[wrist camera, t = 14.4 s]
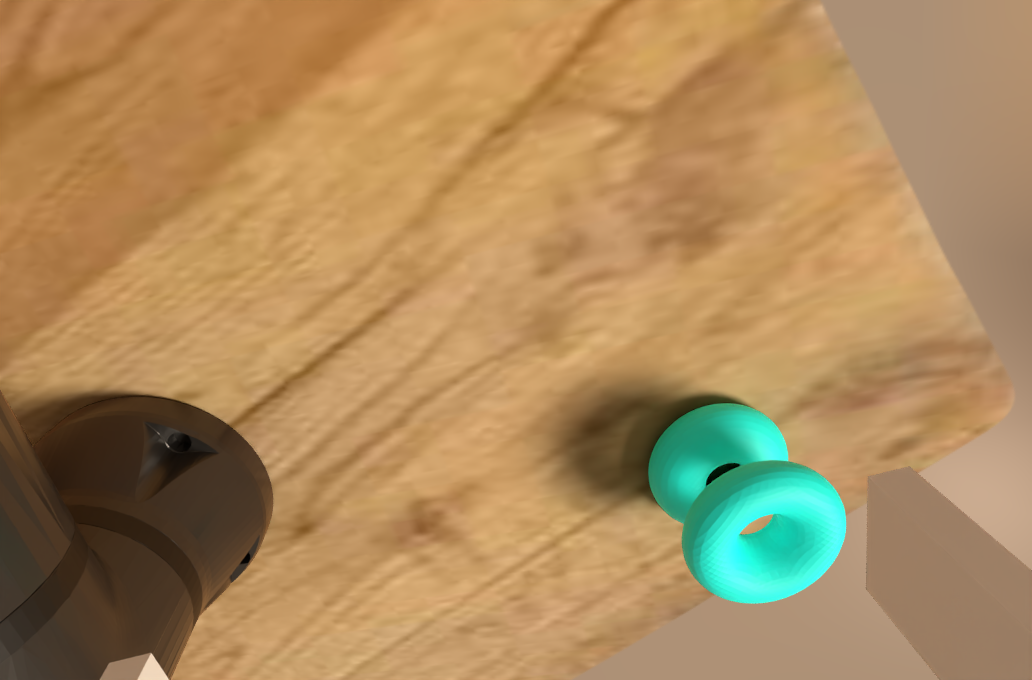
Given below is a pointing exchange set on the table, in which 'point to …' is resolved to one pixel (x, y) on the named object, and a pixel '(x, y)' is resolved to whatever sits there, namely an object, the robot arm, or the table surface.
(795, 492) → the donuts
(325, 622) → the table surface
